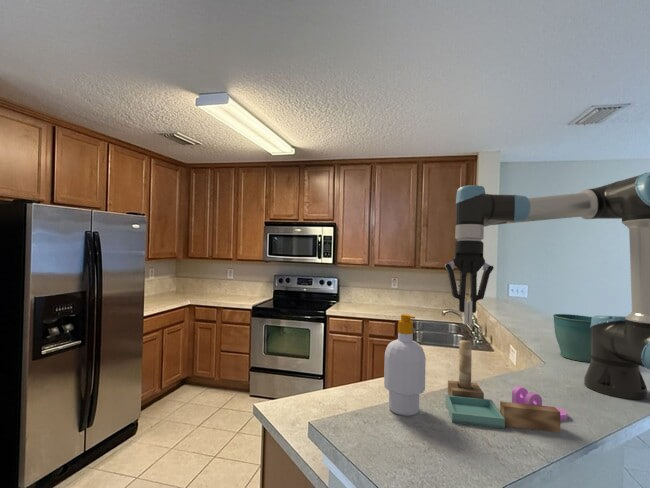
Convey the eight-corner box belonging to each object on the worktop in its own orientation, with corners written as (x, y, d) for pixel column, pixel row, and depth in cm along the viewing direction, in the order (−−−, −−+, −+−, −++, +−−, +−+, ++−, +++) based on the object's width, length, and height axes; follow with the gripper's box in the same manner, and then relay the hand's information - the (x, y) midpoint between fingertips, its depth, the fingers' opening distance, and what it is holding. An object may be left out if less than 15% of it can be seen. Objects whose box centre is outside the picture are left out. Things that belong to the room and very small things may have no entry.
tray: (491, 408, 92) (491, 399, 92) (504, 428, 81) (504, 419, 81) (445, 403, 95) (445, 394, 95) (452, 422, 83) (452, 413, 83)
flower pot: (603, 357, 148) (603, 317, 149) (609, 367, 133) (609, 322, 134) (552, 350, 158) (552, 312, 159) (553, 359, 143) (553, 317, 144)
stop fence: (554, 426, 83) (554, 406, 83) (560, 432, 80) (560, 412, 80) (500, 420, 85) (500, 401, 86) (503, 425, 82) (503, 406, 83)
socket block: (476, 395, 101) (476, 383, 101) (483, 406, 93) (483, 393, 93) (447, 392, 103) (447, 380, 103) (452, 403, 95) (452, 390, 95)
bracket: (529, 424, 84) (529, 394, 85) (511, 413, 90) (512, 386, 90) (572, 420, 87) (572, 391, 87) (553, 410, 93) (553, 383, 93)
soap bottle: (401, 422, 82) (403, 319, 84) (375, 405, 92) (377, 312, 93) (433, 414, 87) (435, 317, 88) (405, 399, 96) (407, 311, 97)
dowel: (469, 397, 99) (470, 340, 100) (472, 402, 96) (472, 343, 97) (457, 396, 100) (458, 339, 100) (459, 400, 97) (460, 342, 97)
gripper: (491, 242, 102) (489, 323, 101) (442, 240, 105) (440, 320, 104) (498, 240, 95) (496, 328, 94) (446, 238, 97) (443, 324, 96)
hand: (467, 323), depth 99 cm, fingers closed
